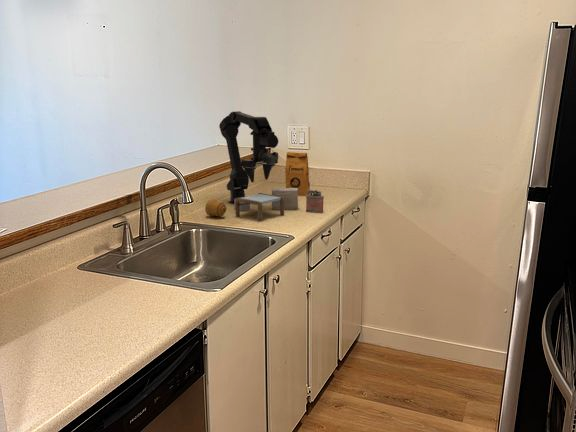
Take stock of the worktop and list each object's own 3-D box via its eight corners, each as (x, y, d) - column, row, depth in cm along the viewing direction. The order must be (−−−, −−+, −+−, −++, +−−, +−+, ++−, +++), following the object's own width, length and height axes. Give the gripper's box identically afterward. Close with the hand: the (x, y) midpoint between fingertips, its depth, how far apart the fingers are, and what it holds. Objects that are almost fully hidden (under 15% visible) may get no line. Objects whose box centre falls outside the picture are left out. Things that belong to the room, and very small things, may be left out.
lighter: (324, 212, 253) (324, 190, 251) (322, 213, 250) (322, 191, 248) (307, 210, 256) (307, 188, 254) (304, 212, 253) (305, 190, 250)
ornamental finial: (204, 217, 242) (203, 200, 240) (216, 214, 248) (216, 197, 246) (218, 220, 237) (217, 202, 236) (230, 217, 243) (230, 200, 241)
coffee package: (306, 198, 282) (306, 154, 277) (282, 196, 286) (282, 152, 281) (312, 194, 291) (312, 151, 286) (289, 193, 295) (289, 150, 290)
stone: (234, 209, 257) (234, 198, 256) (242, 207, 261) (242, 197, 260) (242, 211, 254) (242, 200, 253) (250, 209, 258) (250, 198, 257)
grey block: (298, 205, 261) (297, 187, 256) (298, 209, 258) (297, 191, 253) (271, 205, 261) (271, 187, 256) (271, 209, 258) (270, 191, 253)
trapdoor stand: (260, 221, 236) (260, 202, 234) (235, 216, 244) (235, 198, 243) (284, 215, 247) (284, 197, 245) (259, 210, 256) (259, 192, 254)
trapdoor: (261, 204, 236) (261, 201, 235) (240, 200, 243) (240, 197, 243) (280, 199, 244) (280, 197, 244) (259, 195, 252) (259, 193, 252)
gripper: (258, 149, 239) (258, 186, 243) (287, 145, 253) (286, 180, 257) (239, 147, 246) (239, 182, 250) (268, 143, 260) (268, 177, 264)
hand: (259, 180), depth 255 cm, fingers open, 9 cm apart
